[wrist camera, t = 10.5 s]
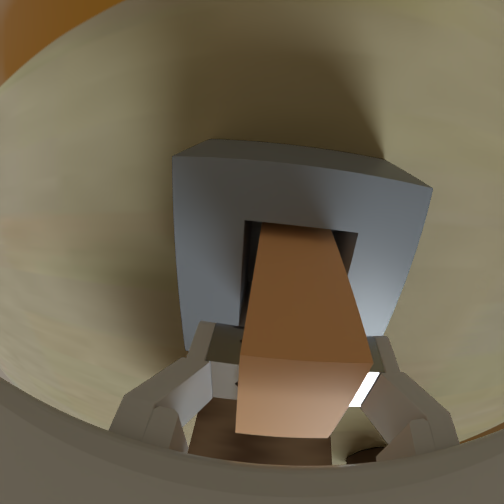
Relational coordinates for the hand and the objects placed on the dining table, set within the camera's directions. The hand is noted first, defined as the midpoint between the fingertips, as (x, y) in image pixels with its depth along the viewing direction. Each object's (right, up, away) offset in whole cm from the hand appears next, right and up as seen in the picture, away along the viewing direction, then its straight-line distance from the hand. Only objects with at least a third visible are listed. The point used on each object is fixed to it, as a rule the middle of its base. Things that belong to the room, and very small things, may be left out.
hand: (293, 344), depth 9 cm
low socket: (+1, +4, +8) cm, 10 cm away
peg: (+1, +3, +5) cm, 6 cm away
